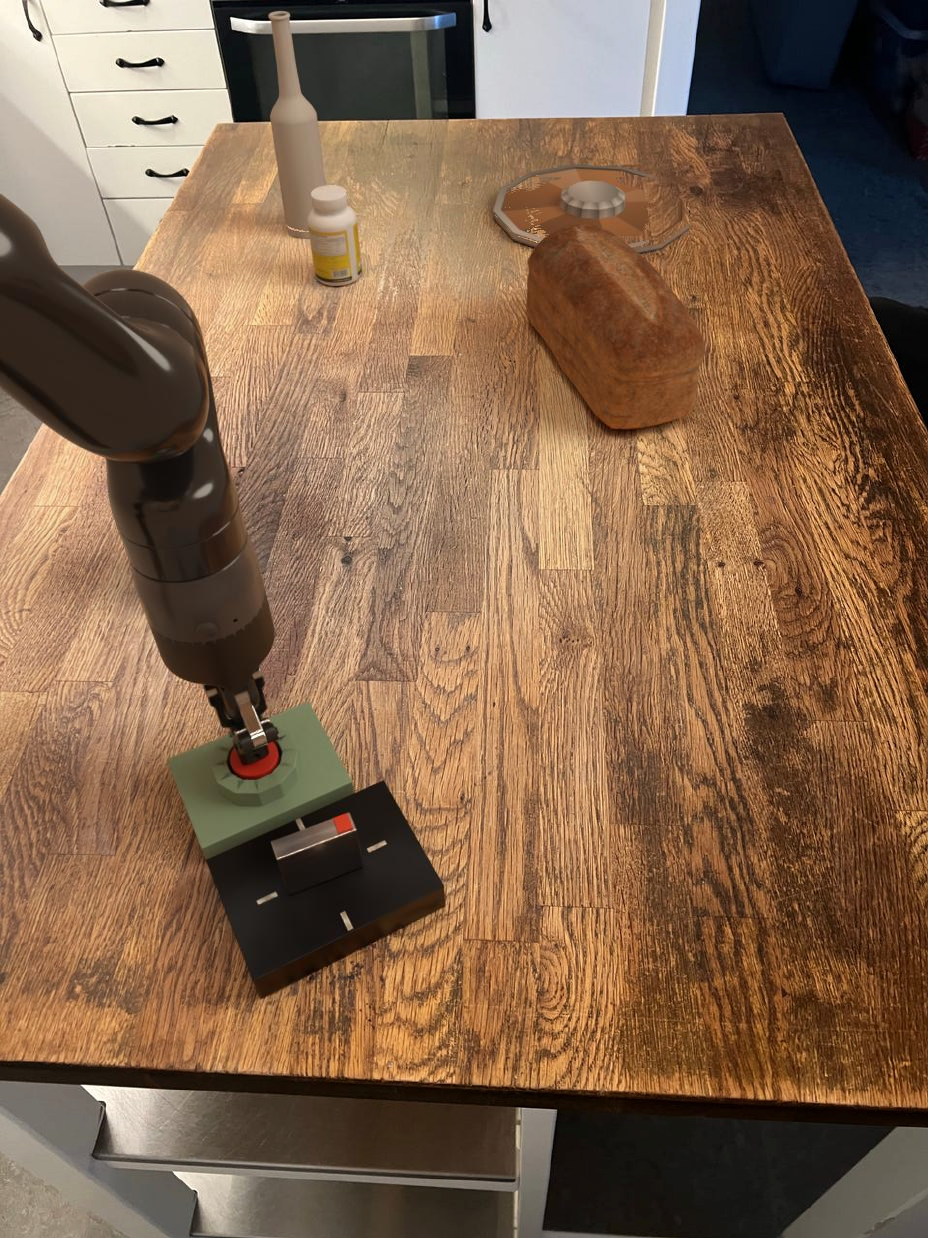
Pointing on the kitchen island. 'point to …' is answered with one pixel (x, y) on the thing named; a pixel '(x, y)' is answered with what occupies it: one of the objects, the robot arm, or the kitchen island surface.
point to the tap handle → (318, 853)
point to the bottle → (294, 134)
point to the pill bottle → (334, 237)
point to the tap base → (326, 893)
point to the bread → (614, 327)
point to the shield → (579, 204)
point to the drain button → (256, 765)
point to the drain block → (259, 783)
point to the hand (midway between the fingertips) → (253, 753)
